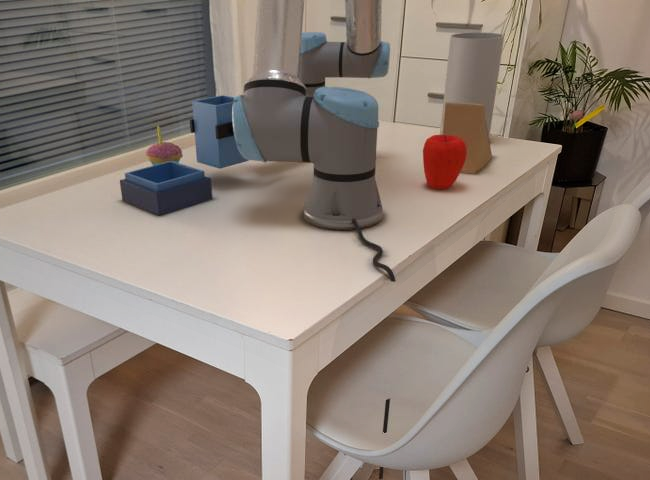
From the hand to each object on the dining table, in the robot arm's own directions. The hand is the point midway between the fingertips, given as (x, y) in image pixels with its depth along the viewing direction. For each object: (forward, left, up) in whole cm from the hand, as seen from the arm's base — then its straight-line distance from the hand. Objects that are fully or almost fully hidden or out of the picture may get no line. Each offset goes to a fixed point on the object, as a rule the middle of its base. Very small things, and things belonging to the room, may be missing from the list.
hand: (203, 129), depth 144 cm
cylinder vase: (-1, -73, -13) cm, 74 cm away
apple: (-27, -43, -13) cm, 53 cm away
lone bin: (+1, -5, -8) cm, 9 cm away
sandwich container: (-17, -59, -13) cm, 63 cm away
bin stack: (-3, +11, -13) cm, 17 cm away
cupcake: (+16, +4, -13) cm, 21 cm away
